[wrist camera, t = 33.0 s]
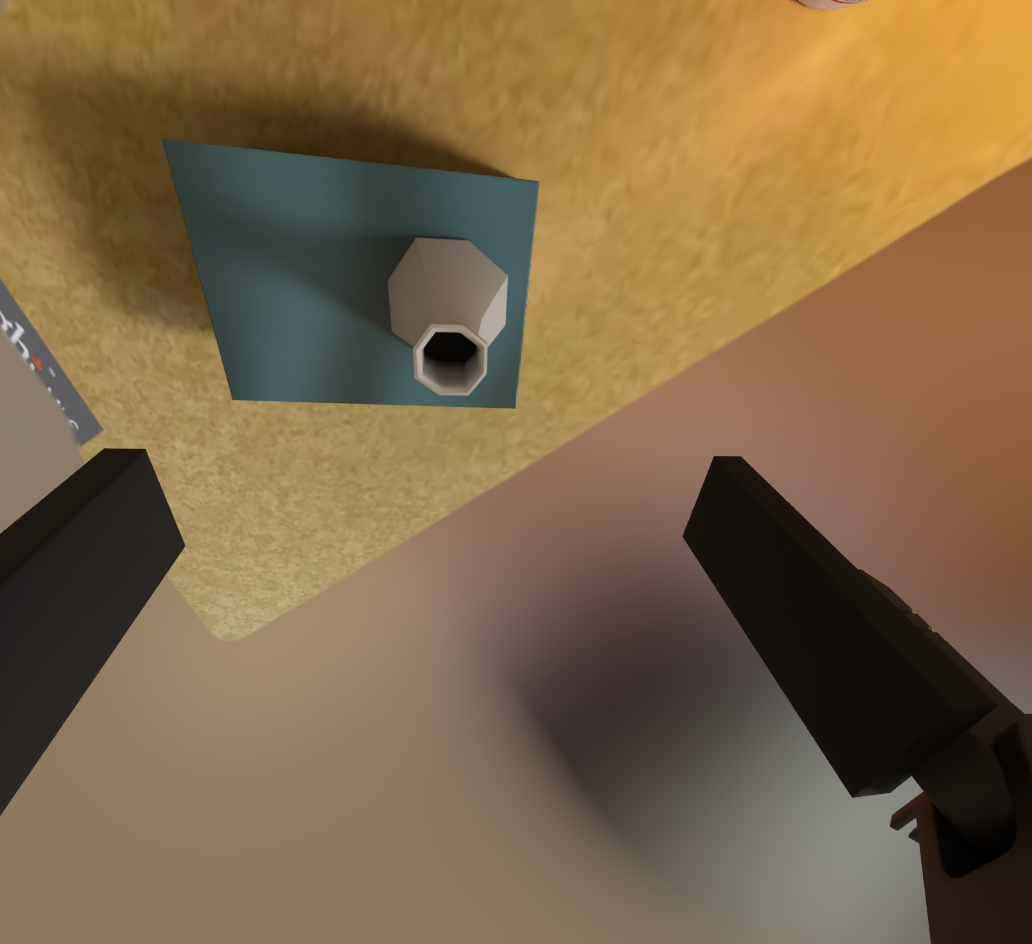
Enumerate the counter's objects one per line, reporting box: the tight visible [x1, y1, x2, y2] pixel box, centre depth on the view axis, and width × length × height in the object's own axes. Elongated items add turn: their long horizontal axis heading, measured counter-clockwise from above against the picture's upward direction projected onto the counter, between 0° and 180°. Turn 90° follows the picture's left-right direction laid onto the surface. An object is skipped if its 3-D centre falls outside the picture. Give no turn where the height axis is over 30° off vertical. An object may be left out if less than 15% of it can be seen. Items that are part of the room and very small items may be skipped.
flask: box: [388, 238, 508, 395], centre depth 23 cm, size 7×7×10 cm
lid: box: [162, 139, 539, 409], centre depth 27 cm, size 18×13×1 cm
